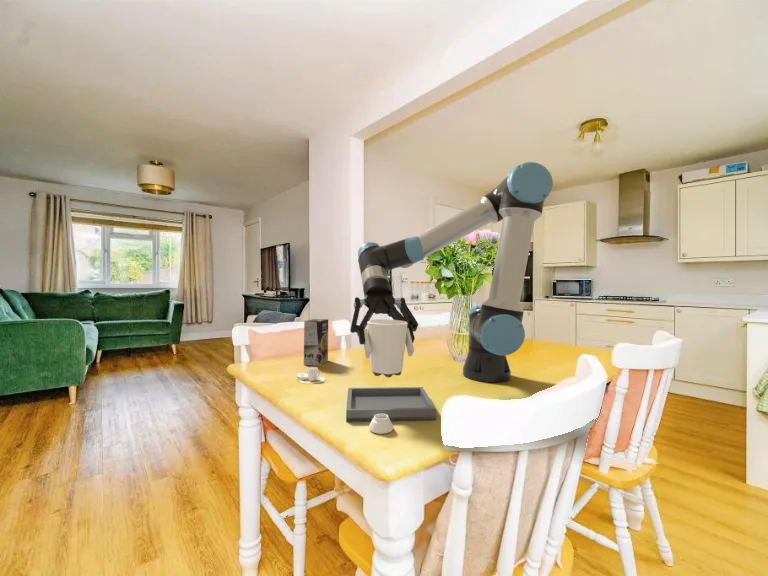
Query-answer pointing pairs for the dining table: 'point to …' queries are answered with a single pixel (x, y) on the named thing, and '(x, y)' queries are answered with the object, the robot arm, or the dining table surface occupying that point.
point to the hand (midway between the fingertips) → (390, 354)
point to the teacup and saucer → (310, 375)
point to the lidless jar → (381, 424)
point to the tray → (389, 404)
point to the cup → (387, 346)
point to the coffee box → (315, 342)
